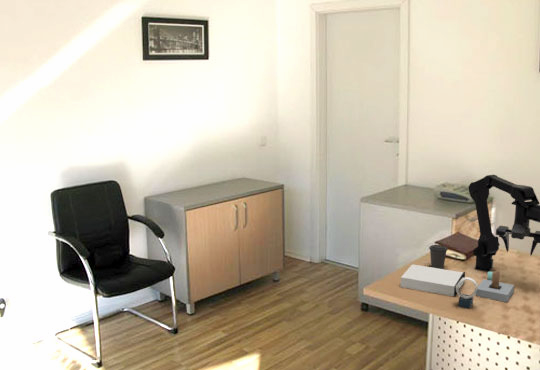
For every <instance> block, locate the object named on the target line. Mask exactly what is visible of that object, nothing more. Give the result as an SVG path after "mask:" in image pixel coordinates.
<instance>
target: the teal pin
mask: <svg viewBox="0 0 540 370" xmlns="http://www.w3.org/2000/svg"><path fill="white" fill-rule="evenodd" d="M493 272H494V271H491V270H490V271H489V272H488V271H487V276H486V277H487V278H486V280H490V281H492V273H493Z"/></svg>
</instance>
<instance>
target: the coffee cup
mask: <svg viewBox="0 0 540 370" xmlns="http://www.w3.org/2000/svg"><path fill="white" fill-rule="evenodd" d="M428 249H429V252H430V264H431V265H430V267H432V268H438V269H444V267H445V262H446V255H447V251H448V247H447V246H445V245H442V244H434V245H433V244H432V245H430V246H429V248H428Z"/></svg>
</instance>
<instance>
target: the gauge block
mask: <svg viewBox="0 0 540 370" xmlns="http://www.w3.org/2000/svg"><path fill="white" fill-rule="evenodd" d="M491 286H492V281H490V280H487V279H485V278H484V279H482V281H481V282H480V283H479V284H478V289H477V291H476V293H475V295H476V296H475V297H479V296H480V297H479V298H484V297H485V298H484V299H488V298H489V300H494V301H498V302H504V303H508V302H509V300H510V298H511V297H512V295H513V294H514V291H515V290H514V289H515V284H511V283H507V282H501V281H499V290H498V289H493V288H491Z"/></svg>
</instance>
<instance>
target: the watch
mask: <svg viewBox="0 0 540 370" xmlns="http://www.w3.org/2000/svg"><path fill="white" fill-rule="evenodd" d="M466 281H470V282H471V283H473V285H474V286H475V288H474V291H473V292H472V293H471V294H470V295H469V294H465V293H462V292H461V291H460V290H459V288H460V287H461V286H462V287H463V285H464V284H465V282H466ZM463 283H464V284H463ZM478 286H479V284H478V282H477V281H476V280H475V279H474V278H473V277H469V276H465V278H462V279H461V280H460V281H459V282H458V284H457V285H456V287H455V288H456V292H457V295H458V296H459V298H458V305H457V307H459V308H464V309H469V310H470V309H471V307H472V306H473V304H474V303H473V302H474V296H475V295H476V291H477V289H478ZM462 287H461V288H462Z"/></svg>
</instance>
